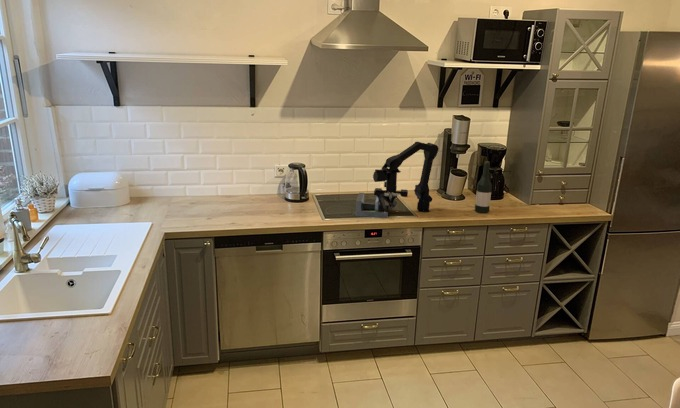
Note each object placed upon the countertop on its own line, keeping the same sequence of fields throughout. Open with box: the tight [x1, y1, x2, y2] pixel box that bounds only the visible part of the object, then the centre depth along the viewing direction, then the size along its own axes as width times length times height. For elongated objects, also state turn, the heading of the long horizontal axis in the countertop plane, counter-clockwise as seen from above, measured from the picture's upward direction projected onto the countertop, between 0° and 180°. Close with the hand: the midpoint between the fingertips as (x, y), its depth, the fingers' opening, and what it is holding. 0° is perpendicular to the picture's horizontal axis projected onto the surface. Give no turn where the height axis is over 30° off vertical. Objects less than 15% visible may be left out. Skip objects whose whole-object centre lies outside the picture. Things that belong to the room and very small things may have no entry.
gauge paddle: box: [374, 196, 380, 213], centre depth 290 cm, size 2×18×8 cm, turn 172°
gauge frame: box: [354, 192, 390, 219], centre depth 293 cm, size 18×17×9 cm
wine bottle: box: [474, 160, 493, 215], centre depth 298 cm, size 8×8×30 cm
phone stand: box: [375, 193, 398, 212], centre depth 293 cm, size 9×6×12 cm
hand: (390, 206), depth 292 cm, fingers closed, pressing on phone stand
